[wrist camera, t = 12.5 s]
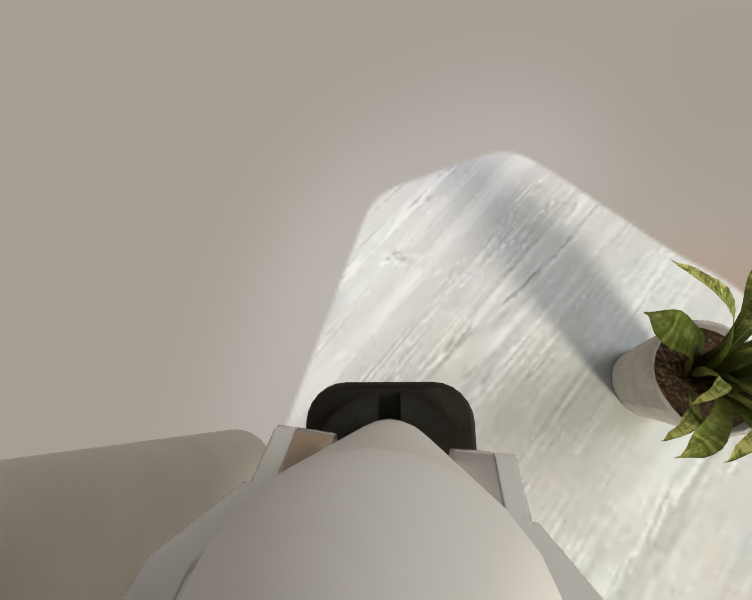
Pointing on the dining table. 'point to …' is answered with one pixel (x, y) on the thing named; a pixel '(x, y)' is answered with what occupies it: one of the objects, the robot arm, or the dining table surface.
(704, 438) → the house plant
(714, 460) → the dining table surface
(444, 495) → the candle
